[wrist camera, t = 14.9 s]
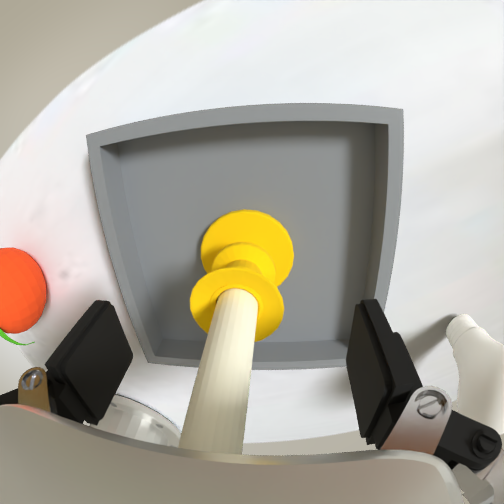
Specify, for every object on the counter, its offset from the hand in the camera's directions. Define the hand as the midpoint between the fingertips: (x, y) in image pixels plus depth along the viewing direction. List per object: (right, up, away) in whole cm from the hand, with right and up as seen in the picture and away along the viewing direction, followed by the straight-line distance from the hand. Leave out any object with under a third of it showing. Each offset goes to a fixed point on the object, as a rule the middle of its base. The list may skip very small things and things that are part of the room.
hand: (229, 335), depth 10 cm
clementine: (-18, +1, +10) cm, 20 cm away
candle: (+1, +3, +6) cm, 7 cm away
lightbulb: (+17, -2, +8) cm, 19 cm away
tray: (+1, +3, +7) cm, 7 cm away
